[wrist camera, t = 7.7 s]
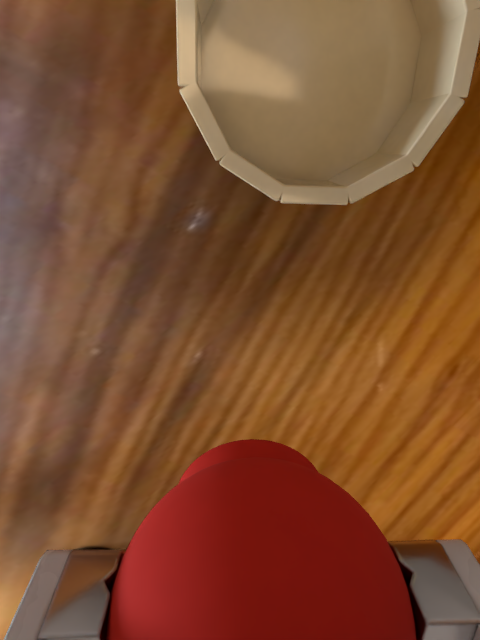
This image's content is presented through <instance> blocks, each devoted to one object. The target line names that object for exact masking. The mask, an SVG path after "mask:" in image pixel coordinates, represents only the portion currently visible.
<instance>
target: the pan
mask: <svg viewBox="0 0 480 640" xmlns="http://www.w3.org/2000/svg"><path fill="white" fill-rule="evenodd" d="M479 8H480V0H176V34H177V78H178V86H179V87H180V88H181V89H180V90H179V91H180V94H181V95H182V97H183V99H184V101H185V103H186V105H187V107H188V109H189V111H190V113H191V115H192V116H193V118H194V120H195V122H196V124H197V126H198V128H199V130H200V132H201V134H202V136H203V137H204V139H205V141H206V143H207V145H208V147H209V149H210V151H211V153H212V155H213V157H214V159H215V160H216V161H218V160H219V159H220V162H219V164H220V165H221V166H222V167H224V168H225V169H227V170H228V171H230V172H231V173H233V174H234V175H236V176H238V177H239V178H241V179H242V180H244V181H245V182H247V183H248V184H250V185H251V186H253V187H254V188H256V189H258V190H259V191H261V192H262V193H264V194H265V195H267V196H268V197H270V198H271V199H273V200H274V201H278V200H279V201H280V202H281V203H289V204H326V205H347V204H348V202H349V203H354V202H356V201H358V200H360V199H362V198H364V197H365V196H367V195H369V194H371V193H373V192H375V191H377V190H379V189H380V188H382V187H384V186H386V185H388V184H390V183H392V182H394V181H395V180H397V179H399V178H401V177H403V176H405V175H407V174H409V173H410V172H412V171H413V170H414V167H418V166H419V165H420V163H421V162H422V161H423V159H424V158H425V156H426V155H427V154H428V152H429V151H430V150H431V148H432V147H433V145H434V144H435V143H436V141H437V140H438V139H439V137H440V136H441V134H442V133H443V132H444V130H445V129H446V127H447V126H448V125H449V123H450V122H451V121H452V119H453V118H454V116H455V115H456V114H457V112H458V111H459V110H460V108H461V107H462V105H463V104H464V100H463V99H462V98H466V97H467V96H468V92H469V88H470V83H471V78H472V73H473V69H474V64H475V59H476V54H477V50H478V45H479V40H480V9H479Z"/></svg>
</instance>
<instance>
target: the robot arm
mask: <svg viewBox="0 0 480 640" xmlns="http://www.w3.org/2000/svg"><path fill="white" fill-rule="evenodd" d="M388 544H389V546H390V548H391V550H392V552H393V554H394V556H395V558H396V560H397V562H398V564H399V566H400V568H401V571H402V574H403V577H404V580H405V583H406V586H407V589H408V593H409V597H410V601H411V606H412V610H413V615H414V620H415V630H416V640H480V565H479V563H478V562H477V560H476V558H475V557H474V555H473V554H472V552H471V550H470V549H469V547H468V546H467V544H466V543H465V542H463V541H462V540H458V539H455V540H411V541H388ZM125 552H126V550H47V551H46V552H45V553H44V554H43V556H42V557H41V558H40V560H39V562H38V564H37V566H36V569H35V571H34V573H33V575H32V578H31V580H30V582H29V584H28V587H27V589H26V591H25V593H24V596H23V598H22V600H21V602H20V604H19V607H18V609H17V611H16V613H15V616H14V618H13V620H12V622H11V625H10V627H9V629H8V631H7V634H6V636H5V638H4V640H106V637H107V625H108V616H109V608H110V602H111V593H112V588H113V585H114V582H115V579H116V576H117V573H118V570H119V567H120V564H121V561H122V558H123V556H124V554H125Z"/></svg>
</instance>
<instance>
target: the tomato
mask: <svg viewBox="0 0 480 640" xmlns="http://www.w3.org/2000/svg"><path fill="white" fill-rule="evenodd" d="M106 640H416V630H415V620H414V615H413V610H412V606H411V601H410V597H409V593H408V589H407V586H406V583H405V580H404V577H403V574H402V571H401V568H400V566H399V564H398V562H397V560H396V558H395V556H394V554H393V552H392V550H391V548H390V546H389V544H388V542H387V540H386V538H385V537H384V535H383V534H382V532H381V531H380V529H379V528H378V526H377V525H376V524H375V522H374V521H373V520H372V518H371V517H370V515H369V514H368V513H367V512H366V511H365V510H364V509H363V508H362V506H361V505H360V504H359V503H358V502H357V501H356V500H355V499H354V498H353V497H352V496H351V495H350V494H349V493H347V492H346V491H345V490H343V489H342V488H341V487H339V486H338V485H337V484H335V483H334V482H333V481H331V480H330V479H328V478H327V477H325V476H323V475H321V474H320V473H318V471H317V470H316V468H315V467H314V466H313V464H312V463H311V462H310V461H309V460H308V459H307V458H306V457H304V456H303V455H302V454H300V453H299V452H298V451H296V450H294V449H292V448H290V447H288V446H285V445H283V444H280V443H276V442H273V441H267V440H254V439H250V440H239V441H234V442H229V443H226V444H223V445H220V446H218V447H215V448H213V449H211V450H209V451H207V452H206V453H204V454H203V455H201V456H200V457H199V458H197V459H196V460H195V461H194V462H193V463H192V464H191V465H190V466H189V467H188V469H187V470H186V471H185V472H184V474H183V476H182V478H181V479H180V482H179V484H178V485H177V486H175V487H174V488H173V489H171V490H170V491H169V492H168V493H167V494H166V495H165V496H164V497H163V498H162V499H161V500H160V501H159V502H158V503H157V504H156V505H155V506H154V507H153V509H152V510H151V511H150V512H149V514H148V515H147V516H146V517H145V519H144V520H143V522H142V523H141V525H140V526H139V528H138V529H137V531H136V532H135V534H134V536H133V538H132V540H131V541H130V543H129V545H128V548H127V550H126V552H125V554H124V556H123V558H122V561H121V564H120V567H119V570H118V573H117V576H116V579H115V582H114V585H113V588H112V593H111V602H110V608H109V616H108V625H107V637H106Z"/></svg>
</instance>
